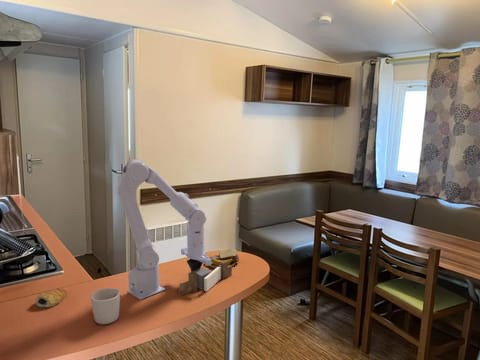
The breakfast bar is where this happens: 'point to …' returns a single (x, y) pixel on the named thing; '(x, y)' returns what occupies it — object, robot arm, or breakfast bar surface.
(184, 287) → the stepped wooden block
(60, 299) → the pastry
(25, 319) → the breakfast bar surface
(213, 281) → the door
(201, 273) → the grey cube
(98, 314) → the cup
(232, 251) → the toy sandwich meal
